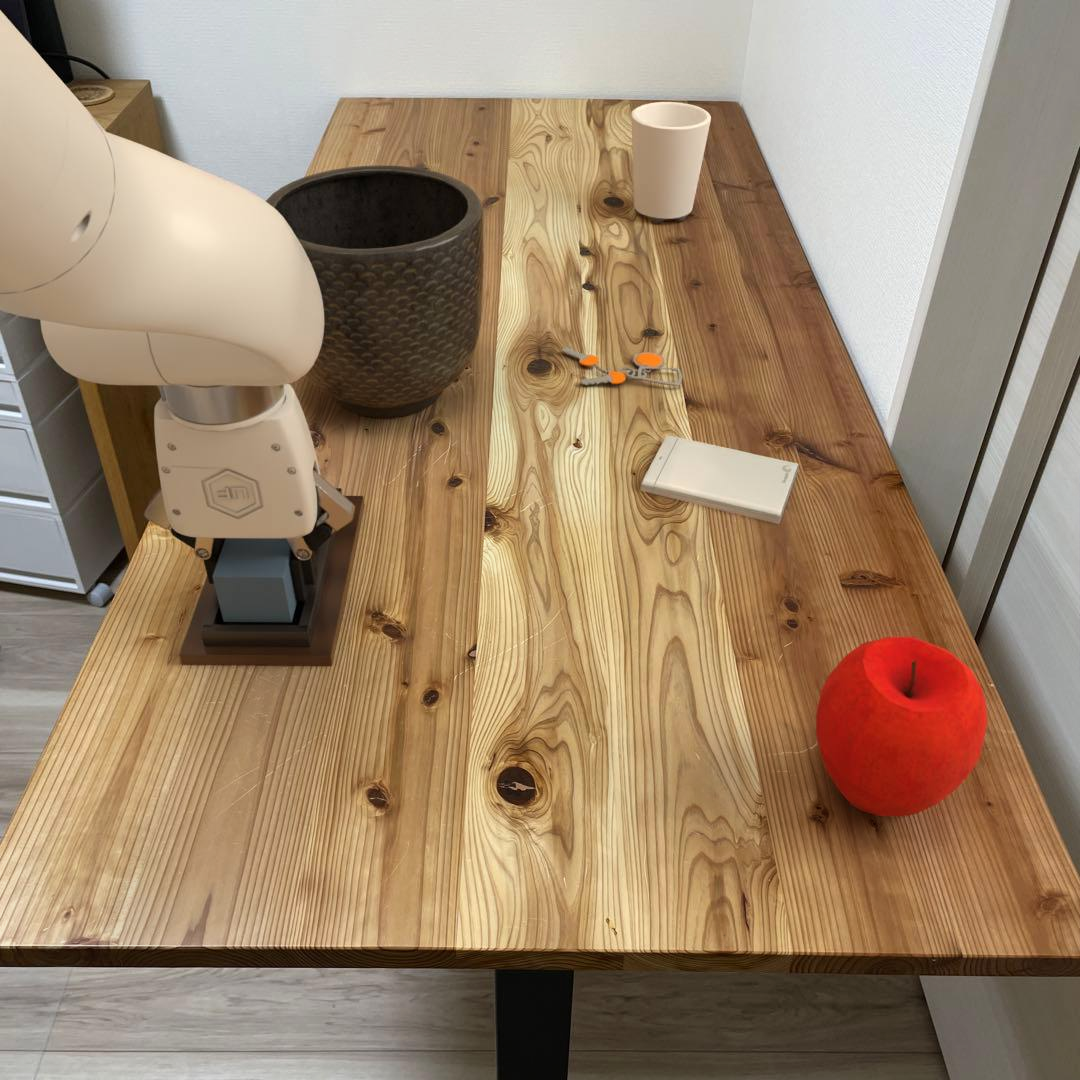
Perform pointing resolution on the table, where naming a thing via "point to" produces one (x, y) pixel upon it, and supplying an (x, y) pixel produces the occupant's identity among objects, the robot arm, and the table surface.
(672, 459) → the hard drive
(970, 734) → the apple
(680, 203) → the cup
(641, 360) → the key chain
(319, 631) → the backing board
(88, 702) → the table surface
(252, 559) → the blue-grey rectangular block
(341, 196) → the planter
